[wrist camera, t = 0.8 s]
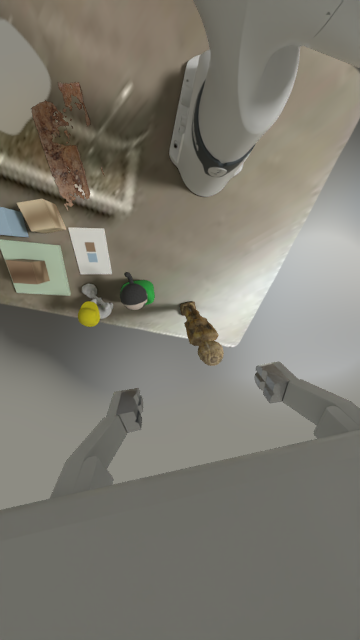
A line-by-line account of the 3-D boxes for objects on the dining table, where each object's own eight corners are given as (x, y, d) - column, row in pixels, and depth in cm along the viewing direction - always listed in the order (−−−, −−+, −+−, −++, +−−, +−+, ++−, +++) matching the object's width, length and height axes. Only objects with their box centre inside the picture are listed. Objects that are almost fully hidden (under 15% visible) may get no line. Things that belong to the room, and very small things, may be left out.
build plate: (0, 239, 39) (-4, 239, 38) (60, 245, 41) (57, 245, 41) (19, 291, 45) (16, 292, 44) (70, 294, 47) (69, 295, 46)
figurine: (112, 280, 47) (94, 293, 34) (120, 307, 51) (107, 328, 38) (79, 284, 46) (47, 298, 33) (90, 311, 50) (65, 334, 37)
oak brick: (33, 208, 38) (16, 202, 33) (55, 204, 38) (42, 198, 33) (45, 233, 40) (31, 231, 36) (66, 229, 40) (55, 227, 36)
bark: (19, 88, 30) (16, 85, 29) (78, 81, 30) (77, 79, 30) (72, 218, 40) (71, 218, 39) (115, 211, 40) (115, 211, 40)
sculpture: (180, 316, 55) (200, 380, 29) (176, 300, 53) (195, 355, 26) (197, 312, 56) (234, 372, 29) (195, 296, 53) (233, 346, 26)
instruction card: (68, 227, 40) (67, 227, 40) (104, 228, 41) (103, 228, 41) (80, 274, 45) (80, 274, 45) (112, 273, 46) (111, 274, 46)
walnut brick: (21, 258, 41) (5, 260, 36) (44, 260, 42) (30, 262, 37) (28, 279, 43) (13, 282, 39) (49, 280, 44) (37, 284, 40)
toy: (128, 302, 51) (117, 321, 37) (118, 267, 46) (102, 275, 32) (156, 298, 51) (155, 316, 38) (150, 263, 46) (147, 270, 33)
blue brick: (-4, 208, 37) (-27, 203, 32) (21, 212, 38) (3, 207, 33) (4, 234, 39) (-15, 232, 35) (29, 237, 40) (12, 235, 35)
